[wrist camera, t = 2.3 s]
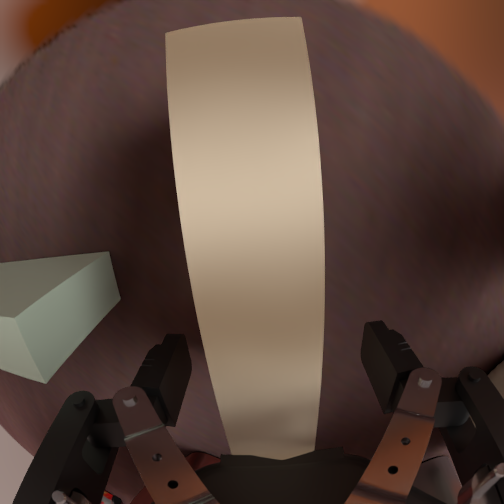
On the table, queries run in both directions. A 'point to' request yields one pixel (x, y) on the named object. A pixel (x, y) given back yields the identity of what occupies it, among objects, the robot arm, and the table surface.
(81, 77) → the table surface
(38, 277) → the notched board
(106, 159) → the table surface
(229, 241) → the slotted plate
